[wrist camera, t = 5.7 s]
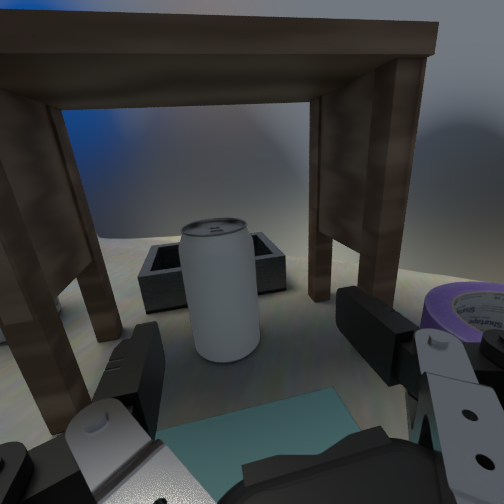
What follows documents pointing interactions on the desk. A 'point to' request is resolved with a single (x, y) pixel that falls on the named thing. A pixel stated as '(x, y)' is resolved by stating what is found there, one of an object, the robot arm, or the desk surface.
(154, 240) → the desk surface
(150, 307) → the box
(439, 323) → the tape roll
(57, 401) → the small wooden table
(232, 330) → the can
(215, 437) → the pad
